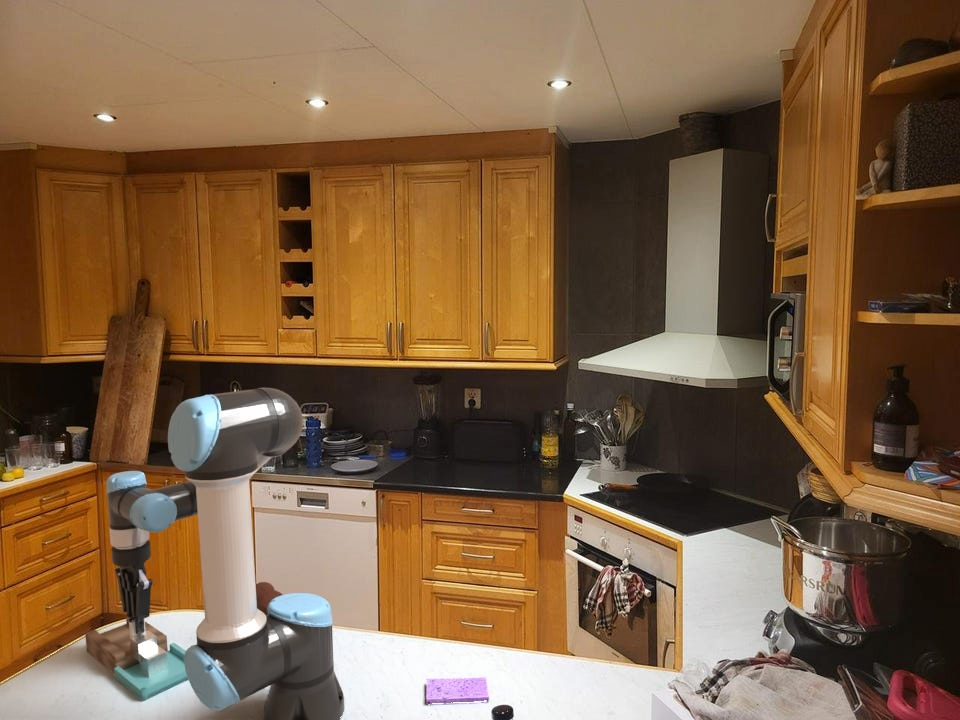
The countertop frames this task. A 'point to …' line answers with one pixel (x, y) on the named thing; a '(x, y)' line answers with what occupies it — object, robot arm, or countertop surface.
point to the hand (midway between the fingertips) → (138, 645)
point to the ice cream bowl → (265, 595)
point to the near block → (153, 661)
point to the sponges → (456, 690)
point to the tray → (158, 682)
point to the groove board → (118, 646)
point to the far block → (142, 643)
